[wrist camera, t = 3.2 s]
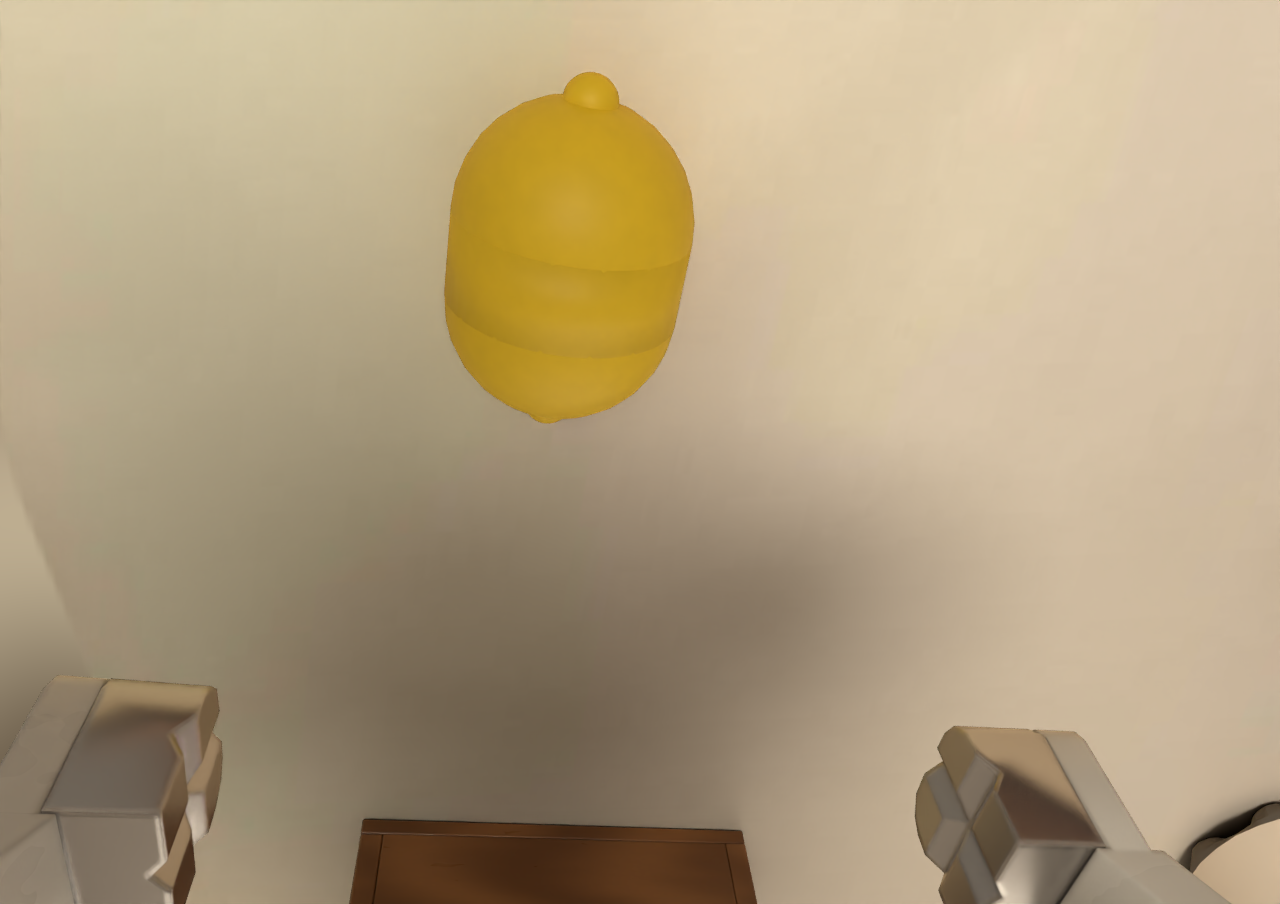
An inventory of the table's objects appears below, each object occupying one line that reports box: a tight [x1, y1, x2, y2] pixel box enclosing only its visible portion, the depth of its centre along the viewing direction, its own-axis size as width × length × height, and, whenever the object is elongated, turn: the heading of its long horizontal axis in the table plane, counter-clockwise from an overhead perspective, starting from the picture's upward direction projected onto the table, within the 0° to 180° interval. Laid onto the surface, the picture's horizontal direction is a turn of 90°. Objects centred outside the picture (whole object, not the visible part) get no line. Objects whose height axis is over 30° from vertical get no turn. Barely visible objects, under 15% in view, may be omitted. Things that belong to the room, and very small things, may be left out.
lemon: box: [444, 72, 694, 423], centre depth 22 cm, size 8×5×5 cm, turn 170°
